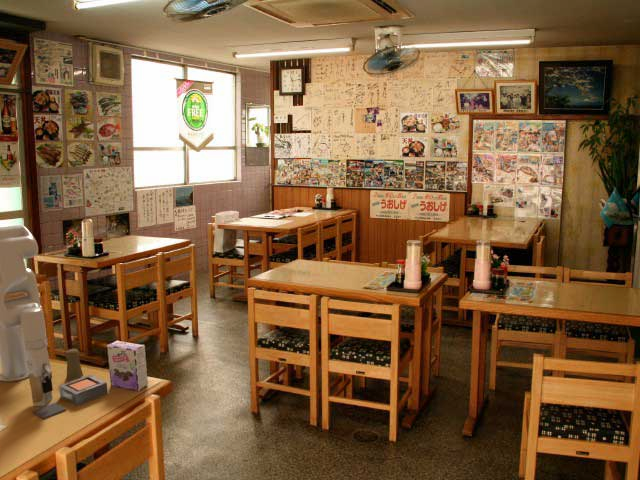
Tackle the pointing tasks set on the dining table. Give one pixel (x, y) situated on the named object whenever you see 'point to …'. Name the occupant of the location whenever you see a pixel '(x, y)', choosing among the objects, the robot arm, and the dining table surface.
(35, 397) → the skincare box
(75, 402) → the box
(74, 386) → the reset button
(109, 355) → the candy box
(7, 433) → the dining table surface
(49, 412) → the coaster
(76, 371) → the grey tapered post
